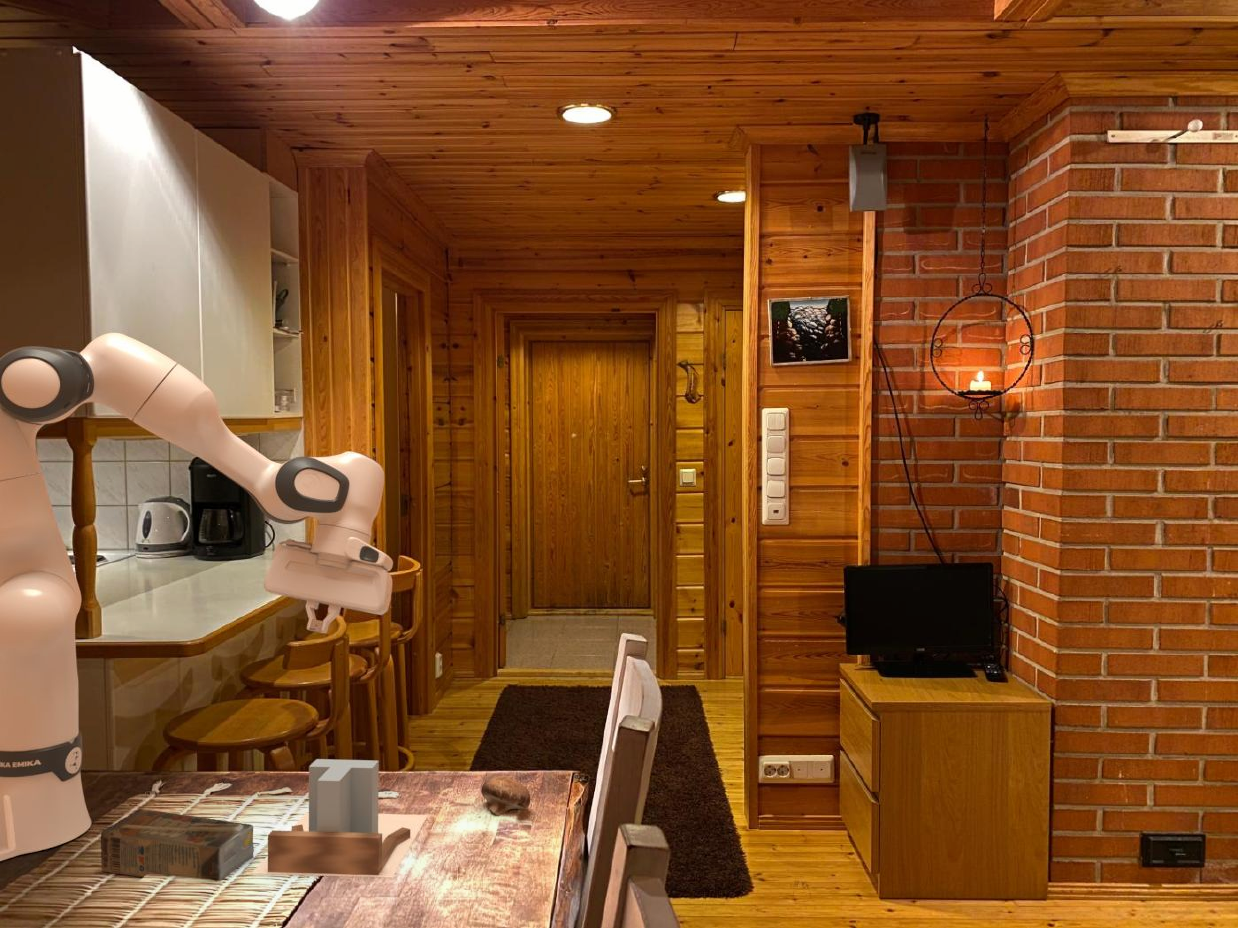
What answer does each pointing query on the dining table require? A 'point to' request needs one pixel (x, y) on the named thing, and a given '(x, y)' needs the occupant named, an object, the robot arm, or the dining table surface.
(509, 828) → the dining table surface
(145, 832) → the beverage carton
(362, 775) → the tee block
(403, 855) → the board
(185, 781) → the dining table surface
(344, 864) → the dock fence
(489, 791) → the mushroom
